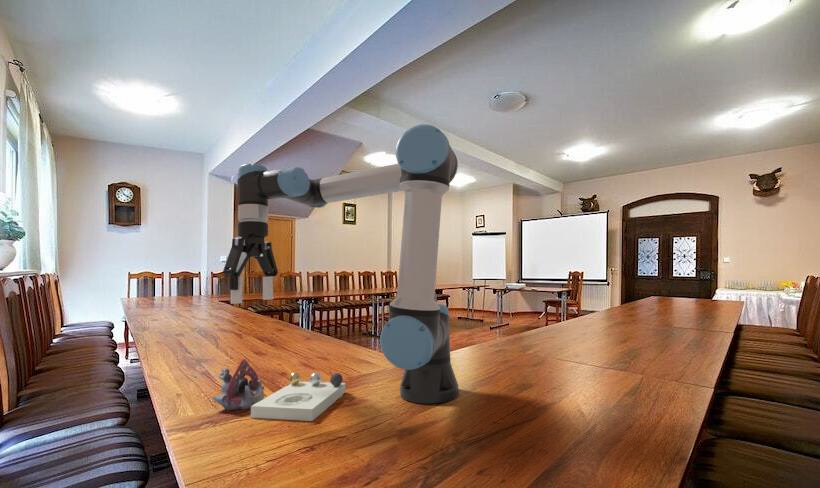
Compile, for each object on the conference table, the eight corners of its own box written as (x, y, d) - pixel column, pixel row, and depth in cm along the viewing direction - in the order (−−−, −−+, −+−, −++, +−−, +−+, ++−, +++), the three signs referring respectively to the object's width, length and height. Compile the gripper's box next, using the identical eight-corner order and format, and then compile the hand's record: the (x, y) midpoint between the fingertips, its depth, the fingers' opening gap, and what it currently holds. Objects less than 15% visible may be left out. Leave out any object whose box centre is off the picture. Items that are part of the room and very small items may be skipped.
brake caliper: (252, 404, 83) (225, 361, 85) (219, 431, 84) (193, 388, 86) (280, 388, 94) (255, 351, 96) (250, 413, 95) (227, 375, 97)
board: (294, 390, 99) (294, 381, 99) (345, 392, 96) (345, 383, 96) (250, 417, 81) (250, 406, 81) (312, 421, 78) (312, 409, 78)
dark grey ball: (344, 384, 95) (344, 371, 96) (339, 387, 92) (339, 375, 93) (333, 383, 96) (333, 371, 96) (328, 387, 93) (328, 374, 93)
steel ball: (323, 383, 97) (323, 371, 97) (318, 387, 94) (318, 374, 94) (312, 383, 97) (312, 370, 98) (307, 386, 94) (306, 374, 94)
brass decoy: (303, 382, 98) (303, 370, 98) (297, 386, 95) (297, 373, 95) (292, 382, 99) (292, 370, 99) (286, 385, 95) (286, 373, 96)
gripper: (267, 228, 110) (267, 298, 108) (206, 215, 85) (206, 305, 83) (289, 227, 108) (290, 297, 107) (235, 213, 84) (234, 304, 82)
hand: (253, 301), depth 95 cm, fingers open, 13 cm apart
